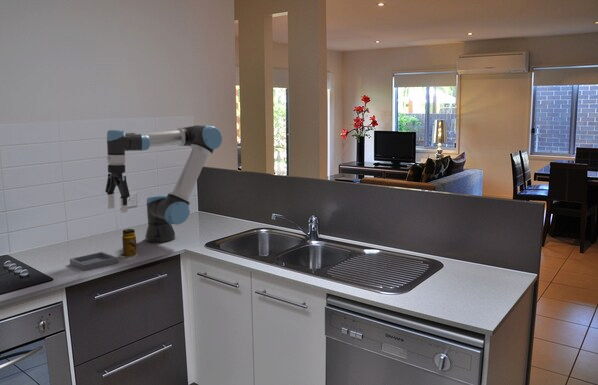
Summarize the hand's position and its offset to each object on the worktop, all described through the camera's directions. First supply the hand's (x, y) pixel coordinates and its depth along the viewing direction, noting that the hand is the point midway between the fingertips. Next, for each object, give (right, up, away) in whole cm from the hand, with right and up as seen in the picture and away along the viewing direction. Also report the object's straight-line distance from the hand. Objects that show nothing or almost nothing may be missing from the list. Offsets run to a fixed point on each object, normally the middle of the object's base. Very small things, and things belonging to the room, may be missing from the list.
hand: (117, 210), depth 234 cm
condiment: (+3, -21, +4) cm, 22 cm away
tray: (-8, -23, -8) cm, 26 cm away
